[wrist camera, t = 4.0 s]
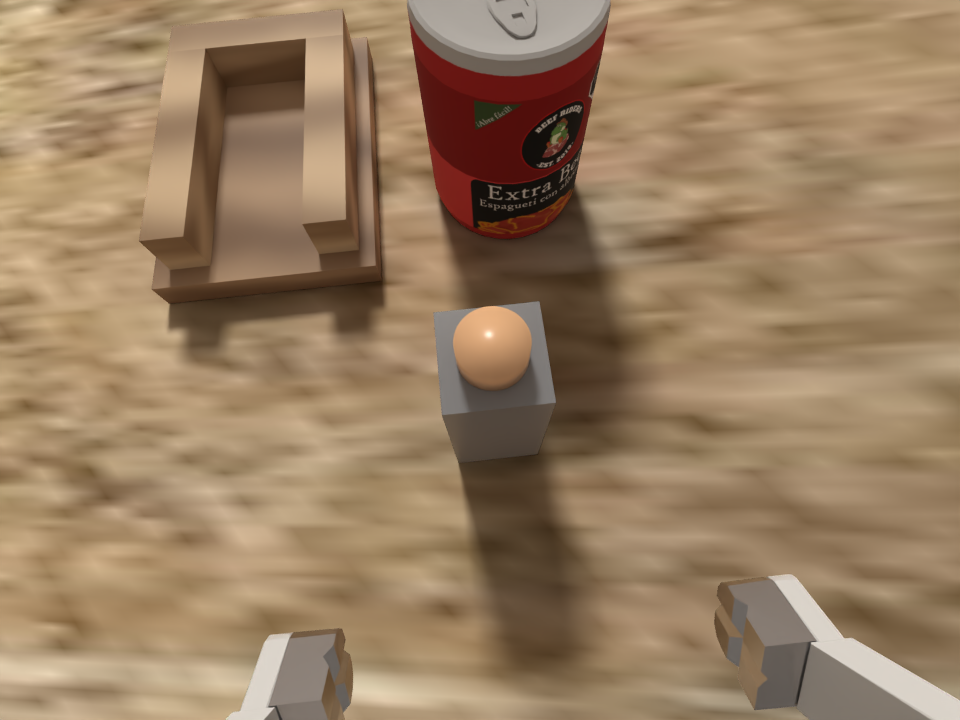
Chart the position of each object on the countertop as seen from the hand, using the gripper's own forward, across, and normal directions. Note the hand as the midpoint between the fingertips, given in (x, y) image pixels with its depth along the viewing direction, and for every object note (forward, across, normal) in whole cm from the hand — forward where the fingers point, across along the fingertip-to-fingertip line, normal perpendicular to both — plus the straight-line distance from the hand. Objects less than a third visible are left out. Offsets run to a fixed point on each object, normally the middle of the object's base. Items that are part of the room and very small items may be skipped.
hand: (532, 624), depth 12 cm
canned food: (+23, -2, -7) cm, 24 cm away
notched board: (+25, +10, -9) cm, 28 cm away
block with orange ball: (+13, 0, +3) cm, 14 cm away
